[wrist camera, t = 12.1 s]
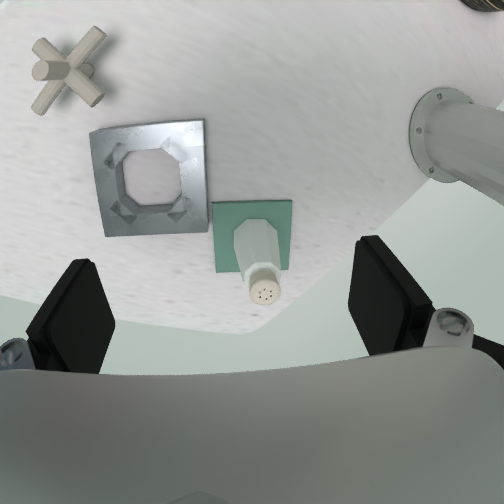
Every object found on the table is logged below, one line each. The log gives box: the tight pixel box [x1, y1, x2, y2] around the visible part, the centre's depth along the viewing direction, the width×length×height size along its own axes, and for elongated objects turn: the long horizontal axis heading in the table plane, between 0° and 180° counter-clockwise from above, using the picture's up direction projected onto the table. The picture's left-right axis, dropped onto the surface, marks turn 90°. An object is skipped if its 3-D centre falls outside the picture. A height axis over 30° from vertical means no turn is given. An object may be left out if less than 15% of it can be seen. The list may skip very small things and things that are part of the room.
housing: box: [89, 119, 209, 237], centre depth 32 cm, size 12×12×3 cm
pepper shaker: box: [234, 219, 281, 305], centre depth 33 cm, size 5×5×11 cm
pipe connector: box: [31, 26, 107, 115], centre depth 22 cm, size 10×10×10 cm
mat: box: [212, 200, 292, 273], centre depth 38 cm, size 9×9×1 cm
